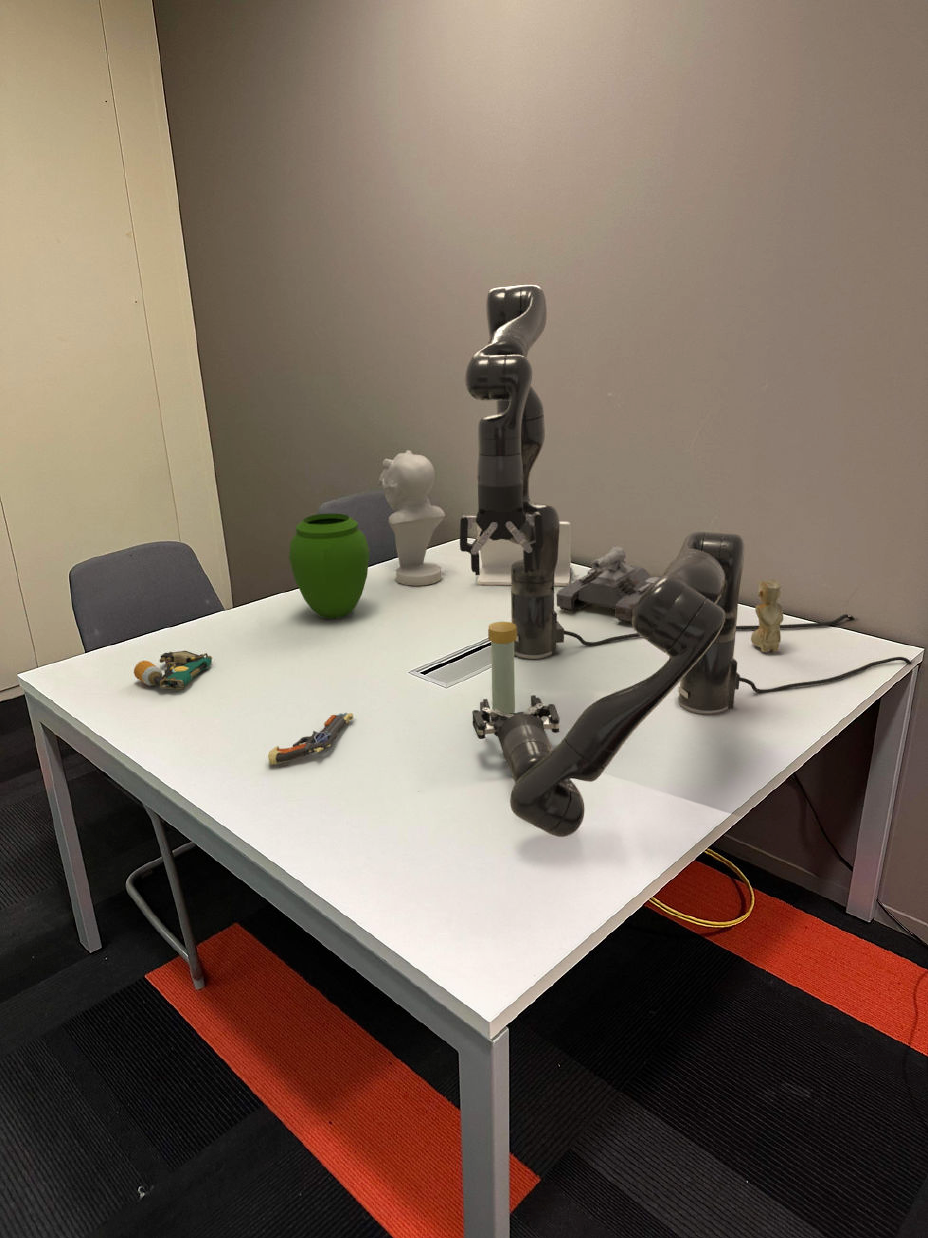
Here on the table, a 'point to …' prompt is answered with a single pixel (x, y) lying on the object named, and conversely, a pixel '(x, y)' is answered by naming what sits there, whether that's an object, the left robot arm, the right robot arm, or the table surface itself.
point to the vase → (329, 563)
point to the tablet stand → (505, 553)
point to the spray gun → (172, 669)
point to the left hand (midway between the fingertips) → (501, 573)
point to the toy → (608, 586)
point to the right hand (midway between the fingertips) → (508, 701)
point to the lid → (502, 632)
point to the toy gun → (312, 740)
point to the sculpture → (768, 617)
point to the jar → (503, 677)
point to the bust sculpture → (412, 515)
